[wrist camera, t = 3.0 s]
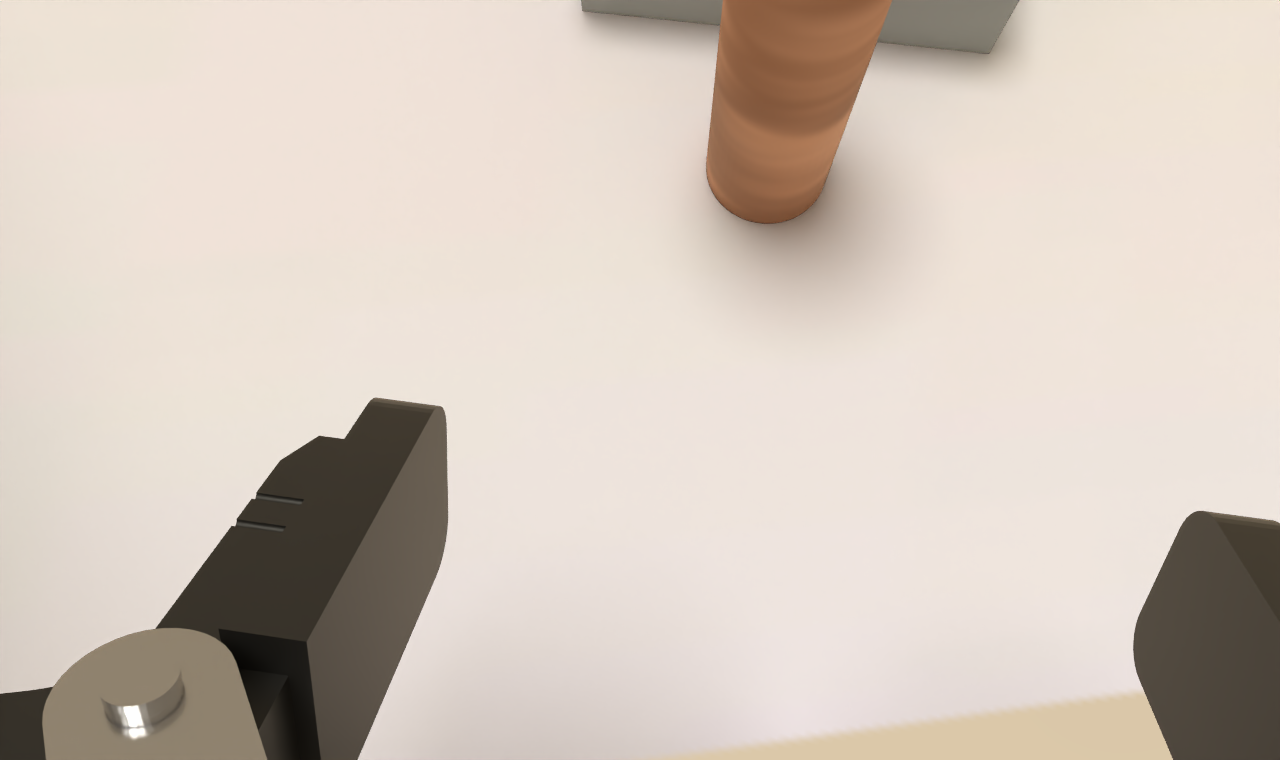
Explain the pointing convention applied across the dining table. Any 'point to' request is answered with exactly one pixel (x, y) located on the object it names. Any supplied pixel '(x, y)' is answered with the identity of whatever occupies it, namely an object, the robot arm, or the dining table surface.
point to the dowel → (785, 99)
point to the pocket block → (918, 16)
